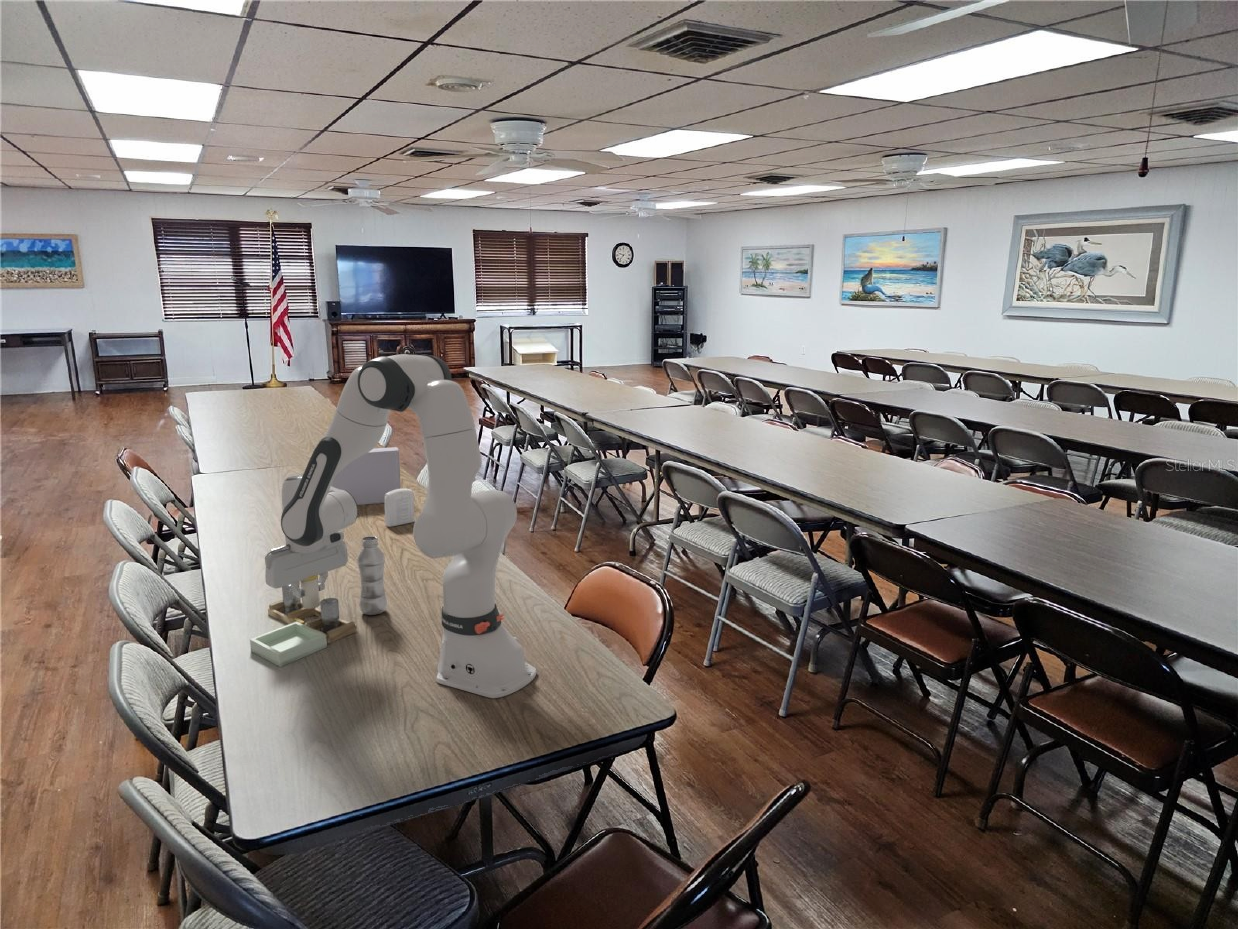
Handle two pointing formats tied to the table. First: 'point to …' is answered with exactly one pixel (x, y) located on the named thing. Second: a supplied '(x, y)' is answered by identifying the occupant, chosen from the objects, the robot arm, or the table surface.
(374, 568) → the plastic bottle
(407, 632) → the table surface
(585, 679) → the table surface
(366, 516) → the table surface
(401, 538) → the table surface
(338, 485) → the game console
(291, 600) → the canister
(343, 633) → the rack
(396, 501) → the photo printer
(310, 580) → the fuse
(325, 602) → the canister
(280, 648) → the tray
